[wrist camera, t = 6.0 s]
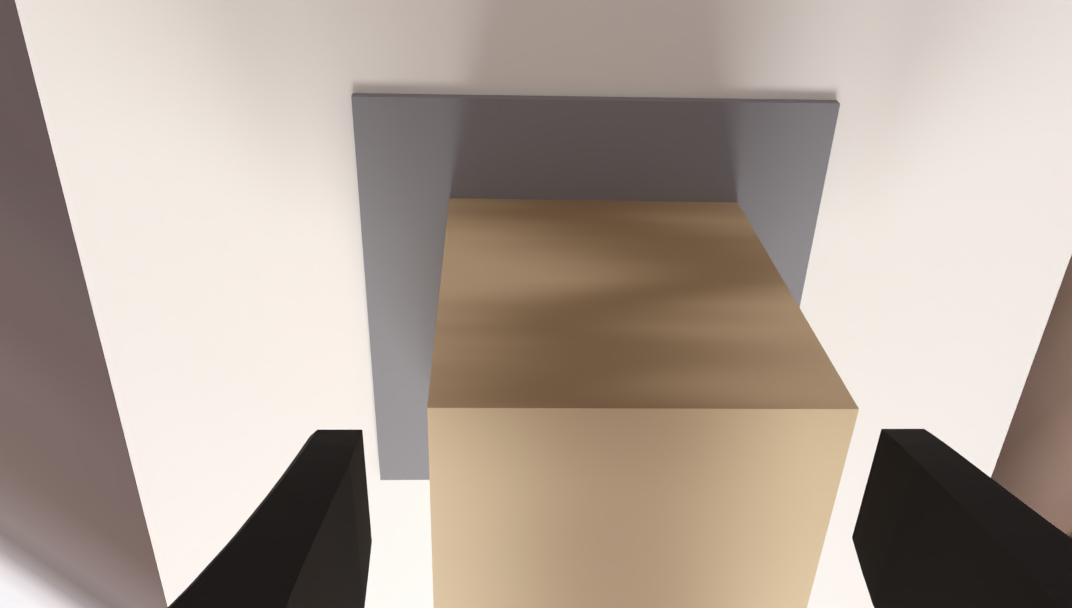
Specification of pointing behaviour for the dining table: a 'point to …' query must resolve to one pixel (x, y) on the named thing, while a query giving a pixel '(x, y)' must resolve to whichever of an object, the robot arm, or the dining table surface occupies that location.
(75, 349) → the dining table surface
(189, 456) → the plinth
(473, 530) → the block
